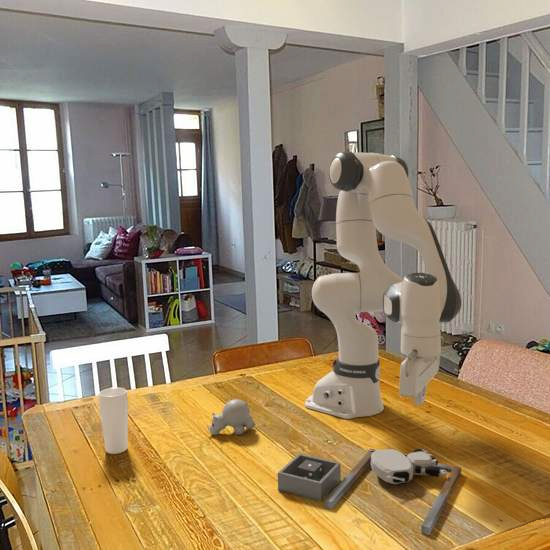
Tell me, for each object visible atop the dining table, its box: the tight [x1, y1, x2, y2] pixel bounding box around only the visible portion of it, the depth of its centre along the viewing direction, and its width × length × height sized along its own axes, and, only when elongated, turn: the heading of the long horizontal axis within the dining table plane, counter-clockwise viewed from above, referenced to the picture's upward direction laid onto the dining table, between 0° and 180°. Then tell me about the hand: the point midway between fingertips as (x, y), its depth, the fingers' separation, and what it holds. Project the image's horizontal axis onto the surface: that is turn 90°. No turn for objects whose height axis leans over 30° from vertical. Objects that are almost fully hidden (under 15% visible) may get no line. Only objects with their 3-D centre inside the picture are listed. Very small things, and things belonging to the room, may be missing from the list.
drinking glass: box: [98, 387, 129, 455], centre depth 146 cm, size 7×7×15 cm
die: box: [297, 460, 323, 481], centre depth 128 cm, size 4×4×4 cm
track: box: [324, 448, 462, 536], centre depth 126 cm, size 21×28×2 cm
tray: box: [277, 453, 342, 503], centre depth 128 cm, size 10×10×4 cm
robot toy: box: [365, 448, 448, 485], centre depth 131 cm, size 12×4×15 cm
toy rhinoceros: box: [206, 398, 256, 436], centre depth 156 cm, size 7×12×8 cm, turn 100°
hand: (419, 402), depth 139 cm, fingers closed
